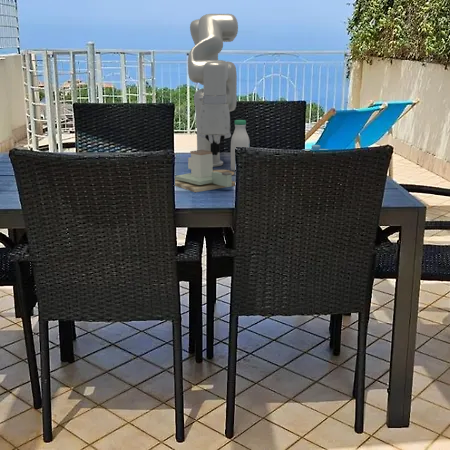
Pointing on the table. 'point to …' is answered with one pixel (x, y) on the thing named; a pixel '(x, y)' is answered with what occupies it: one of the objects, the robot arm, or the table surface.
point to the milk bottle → (238, 139)
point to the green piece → (208, 179)
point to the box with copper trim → (201, 163)
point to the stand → (198, 186)
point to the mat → (224, 171)
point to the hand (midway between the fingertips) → (215, 154)
